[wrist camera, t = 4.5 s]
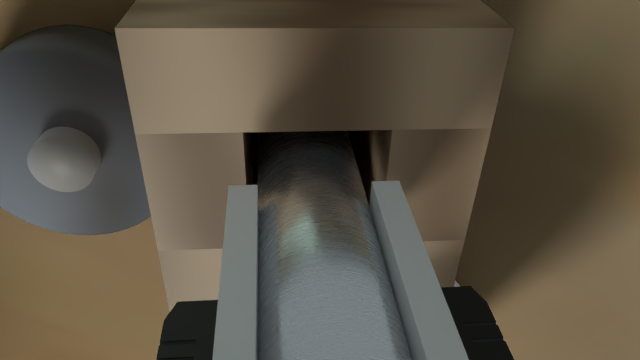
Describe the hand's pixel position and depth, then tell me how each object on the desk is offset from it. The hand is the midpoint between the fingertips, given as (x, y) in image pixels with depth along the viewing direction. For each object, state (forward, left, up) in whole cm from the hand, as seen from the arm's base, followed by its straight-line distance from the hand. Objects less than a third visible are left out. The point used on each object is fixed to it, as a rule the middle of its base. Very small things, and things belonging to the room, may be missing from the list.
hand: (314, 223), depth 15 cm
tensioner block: (0, 0, -6) cm, 6 cm away
